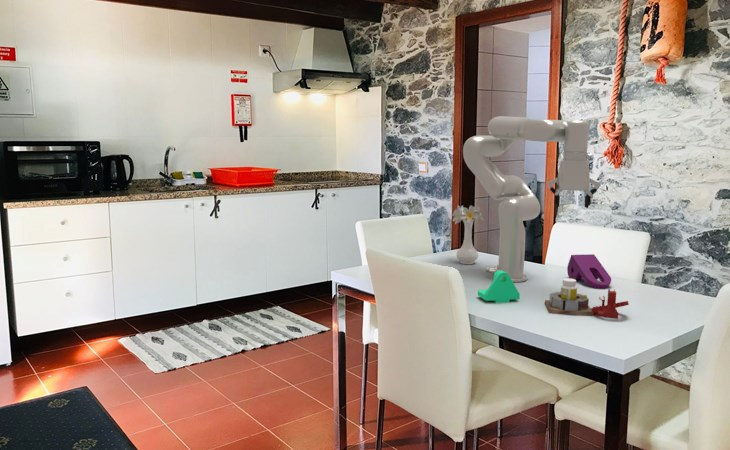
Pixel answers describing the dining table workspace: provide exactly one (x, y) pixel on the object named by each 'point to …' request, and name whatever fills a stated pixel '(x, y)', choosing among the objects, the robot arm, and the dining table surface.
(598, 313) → the red toothed piece
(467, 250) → the flower vase
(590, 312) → the block
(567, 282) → the supplement bottle
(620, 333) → the dining table surface
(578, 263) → the mounting bracket
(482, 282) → the dining table surface
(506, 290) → the camera mount
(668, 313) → the dining table surface
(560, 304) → the hub
